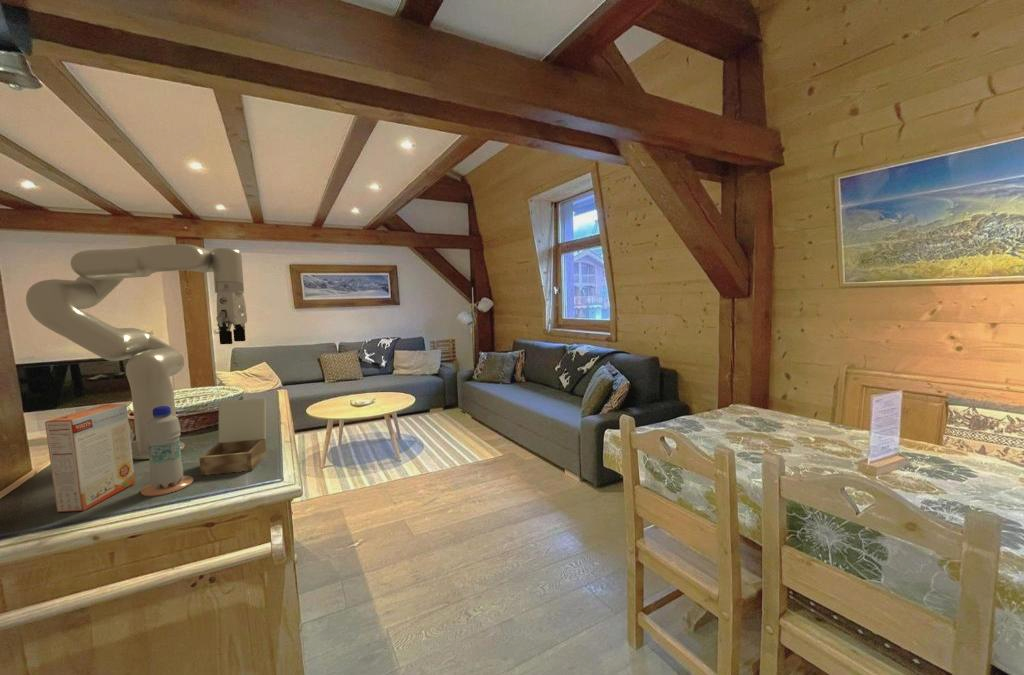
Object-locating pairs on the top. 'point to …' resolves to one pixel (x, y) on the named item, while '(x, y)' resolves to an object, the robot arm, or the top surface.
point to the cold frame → (233, 457)
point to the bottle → (164, 448)
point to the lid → (241, 420)
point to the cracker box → (90, 456)
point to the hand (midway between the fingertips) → (233, 342)
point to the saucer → (152, 491)
